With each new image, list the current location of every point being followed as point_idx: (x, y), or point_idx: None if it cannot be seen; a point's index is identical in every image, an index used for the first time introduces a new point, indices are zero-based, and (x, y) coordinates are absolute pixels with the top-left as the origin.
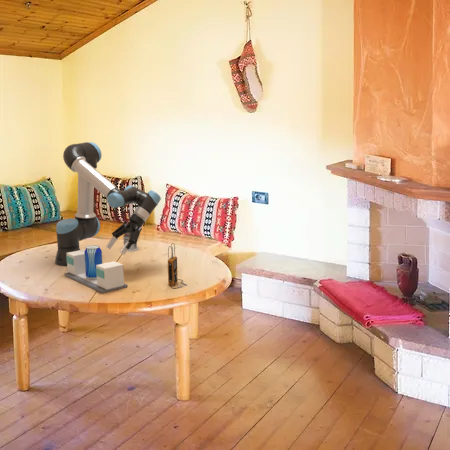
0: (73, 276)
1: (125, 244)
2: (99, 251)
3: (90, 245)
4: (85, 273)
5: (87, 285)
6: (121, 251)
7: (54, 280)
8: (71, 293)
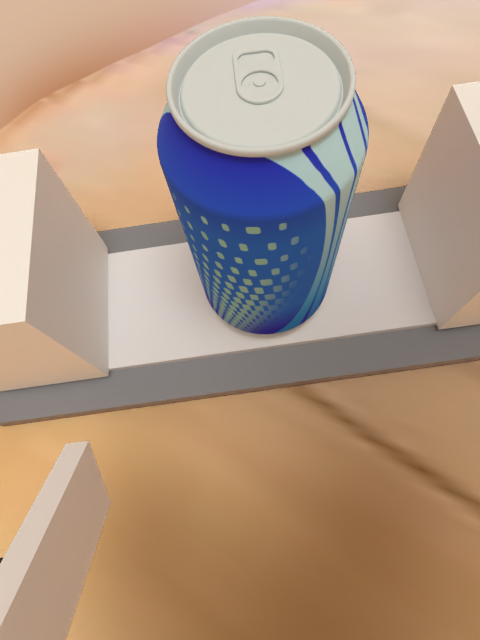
0: (388, 198)
1: (11, 580)
2: (167, 166)
3: (350, 74)
4: (399, 267)
5: None
6: (62, 458)
7: (406, 122)
8: (134, 135)
